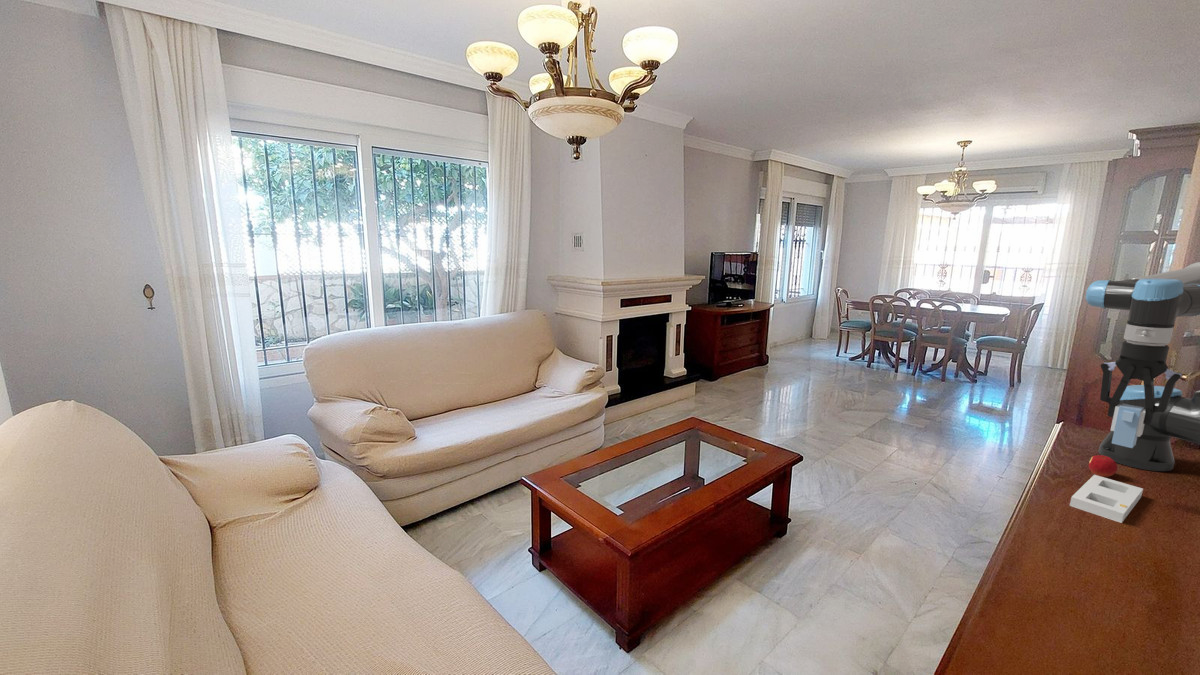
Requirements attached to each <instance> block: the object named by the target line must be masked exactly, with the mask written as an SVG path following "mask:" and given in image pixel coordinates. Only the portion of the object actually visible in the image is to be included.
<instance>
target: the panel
mask: <svg viewBox="0 0 1200 675" xmlns="http://www.w3.org/2000/svg"><path fill="white" fill-rule="evenodd" d="M1143 491H1144V487H1143V488H1142V487H1139V486H1136V485H1132V484H1128V483H1125V482H1121V481H1118V480H1114V479H1111V478H1109V477H1101V476H1097V475H1095V474H1093V475H1092V476H1091V477H1090V479H1088V480H1087V481H1086V482H1085V483H1084V484H1083V485H1082V486H1081V487H1080V488H1079V489H1077V491H1076V492H1075V493H1074V494H1073V495H1071V497H1070V502H1069V507H1072V508H1076V509H1078V510H1081V511H1084V512H1087V513H1090V514H1093V515H1096V516H1100V517H1102V518H1106V519H1108V520H1112V521H1114V522H1116V523H1117V522H1118V523H1121V524H1122V523H1123V522H1124V521H1125V519H1127V517H1128V515H1129V514H1130V513H1131V512H1132V511H1133V509H1134V507H1135V506H1136V505H1137V503H1139V501H1140V499H1141V498H1142V496H1143V495H1142V494H1143Z"/></svg>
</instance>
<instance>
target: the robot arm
mask: <svg viewBox="0 0 1200 675" xmlns="http://www.w3.org/2000/svg"><path fill="white" fill-rule="evenodd" d="M1085 300H1086V302H1087V304H1088V306H1091V307H1095V308H1101V309H1105V310H1106V309H1110V310H1111V309H1112V310H1119V311H1121V310H1123V311H1129V312H1128V319H1127V320H1126V325H1125V330H1124V335H1123V339H1124V341H1122V344H1121V349H1120V352H1119V353H1120V354H1119V357H1118V358H1117V359H1116V361H1111V362H1103V363H1101V364H1100V368H1101V371H1102V380H1101V390H1100V395H1099V396H1100V398H1099V399H1100V401H1102V402H1105V403H1107V404H1108V410H1107V416H1108V417H1109V418H1112V420H1111V427H1110V431H1109V433H1108V434H1107V435H1106V437H1105V438H1104V439H1103V440H1102V442H1101V443H1100V444H1099V447H1098V453H1099V454H1098V455H1103V456H1107V457H1110V458H1111V459H1113V460H1114V461H1115V462H1116V464H1121V465H1124V466H1127V467H1132V468H1134V469H1140V470H1146V471H1152V472H1153V471H1154V472H1170V471H1172V470H1174V467H1175V463H1176V461H1175V458H1174V453H1173V450H1172V446H1171V439H1172V437H1173V438H1176V439H1179V440H1183V441H1185V442H1190V443H1193V444H1196V445H1199V446H1200V390H1197V391H1195V392H1194V394H1193V396H1192V397H1191V398H1190V397H1185V396H1183V392H1182V390H1181V389H1180V388H1179V389H1178V388H1176V387H1175V386H1176V383H1177V381H1178V380H1180V379H1181V378H1182V377H1183V374H1182V373H1181V372H1176V371H1173V370H1171V369H1169V367H1168V365H1167V359H1168V354H1169V350H1170V346H1168V345H1169V344H1171V341H1172V336H1173V333H1174V328H1175V322H1176V320H1177V317H1178V318H1180V317H1196V316H1200V261H1199V262H1198V261H1197V262H1194V263H1191V264H1189V265H1188V266H1185V267H1184V268H1180V269H1174V270H1170V271H1166V272H1160V273H1155V274H1149V275H1146V276H1139V277H1134V278H1128V279H1123V280H1111V279H1107V280H1106V279H1105V280H1103V279H1102V280H1101V279H1098V280H1095V281H1094V282H1091V283H1090V284H1089V286H1088V288H1087V290H1086V292H1085ZM1116 367H1117V368H1118V370H1119V371H1120V373H1121V374H1122V377H1121V379H1120V381H1119V383H1118V386H1117V388H1116V389H1115V392H1114V394H1113V395H1112V397H1111V387H1112V378H1113V371H1114V370H1115V369H1116ZM1163 374H1165V376H1164V377H1165V380H1166V382H1165V385H1164V386H1162V385H1155V379H1156V378H1158V377H1159V376H1161V375H1163ZM1131 380H1139V381H1142V382H1143V384H1131V385H1129V384H1130V382H1131ZM1122 404H1128V405H1134V406H1139V407H1144V409H1143V410H1142V411H1141V413H1140V417H1139V422H1138V426H1137V431H1136V435H1135V436H1137V441H1136V445H1135V446H1134V447H1133V448H1129V447H1125V446H1121V445H1117V444H1112V439H1113V434H1114V429H1115V425H1116V420H1117V415H1118V411H1119V406H1121V405H1122Z"/></svg>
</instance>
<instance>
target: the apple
mask: <svg viewBox="0 0 1200 675" xmlns="http://www.w3.org/2000/svg"><path fill="white" fill-rule="evenodd" d="M1088 469H1089V470H1090V472H1091V474H1093V475H1097V476H1101V477H1104V478H1110V477H1112V476H1114V475H1115V474H1116V472H1117V471H1118V463H1117V462H1115V461H1114V460H1113V459H1111V458H1110V457H1107V456H1103V455H1100V454H1098V455H1093V456H1091V458H1090V459H1089V463H1088Z"/></svg>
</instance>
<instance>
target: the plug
mask: <svg viewBox="0 0 1200 675" xmlns="http://www.w3.org/2000/svg"><path fill="white" fill-rule="evenodd" d="M1143 409H1144V407H1139V406H1134V405H1128V404H1122V405H1121V406H1119V411H1118V415H1117V420H1116V425H1115V429H1114V434H1113V439H1112V444H1117V445H1121V446H1125V447H1129V448H1133V447H1134V446H1135V445H1136V441H1137V436H1135V435H1136V431H1137V426H1138V422H1139V417H1140V413H1141V411H1142V410H1143Z"/></svg>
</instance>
